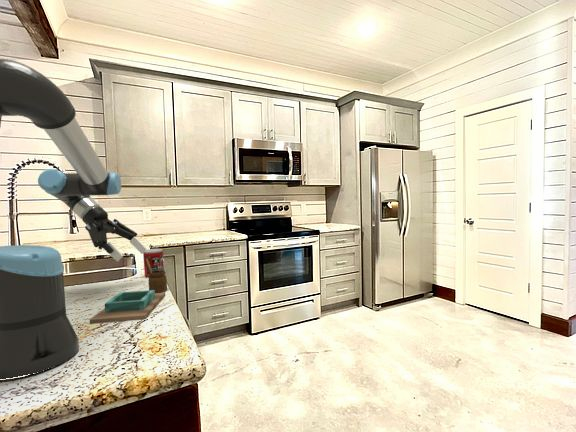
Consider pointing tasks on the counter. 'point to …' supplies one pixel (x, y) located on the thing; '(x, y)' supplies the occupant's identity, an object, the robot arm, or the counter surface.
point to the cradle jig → (129, 306)
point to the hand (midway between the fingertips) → (133, 254)
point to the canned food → (153, 260)
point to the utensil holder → (157, 279)
